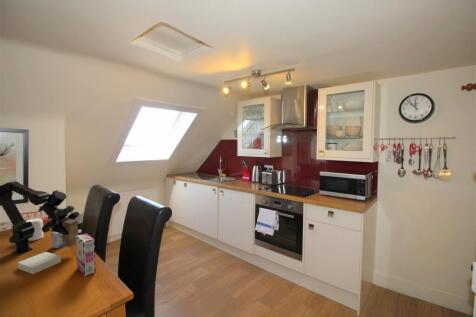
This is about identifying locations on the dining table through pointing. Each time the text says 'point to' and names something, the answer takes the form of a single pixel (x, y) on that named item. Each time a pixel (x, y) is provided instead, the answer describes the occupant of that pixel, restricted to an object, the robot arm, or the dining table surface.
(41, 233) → the beverage can
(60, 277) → the dining table surface
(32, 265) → the sage base
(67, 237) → the walnut block
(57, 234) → the medicine box
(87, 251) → the candy bar box
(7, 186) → the robot arm
